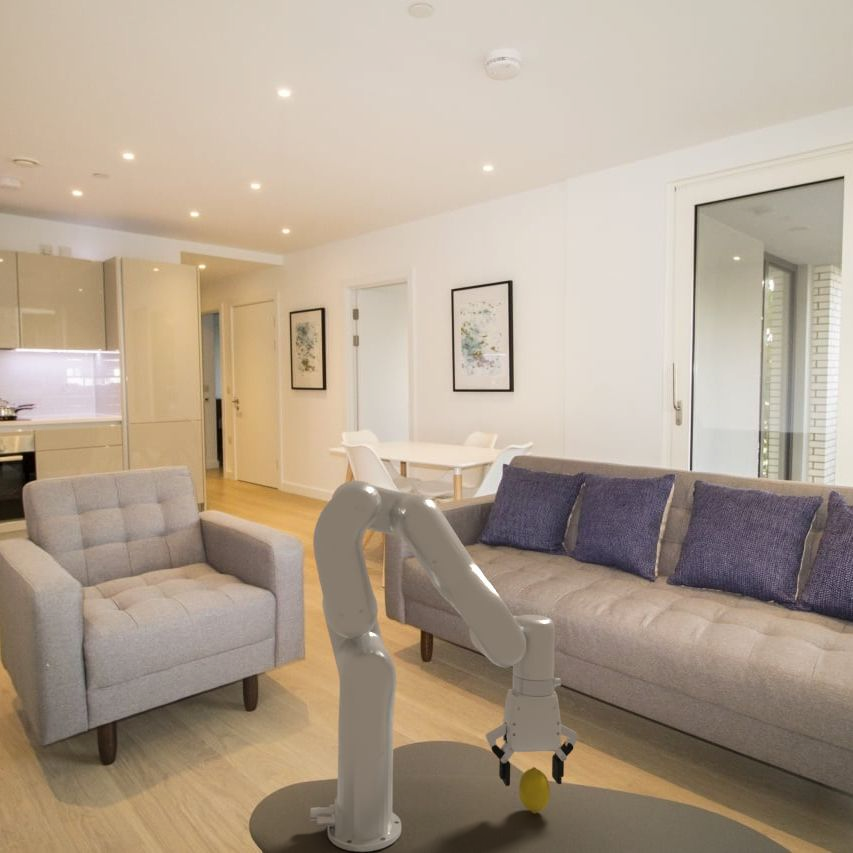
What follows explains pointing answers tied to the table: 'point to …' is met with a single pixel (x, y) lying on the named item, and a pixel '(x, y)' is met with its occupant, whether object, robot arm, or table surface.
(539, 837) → the table surface
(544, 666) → the robot arm
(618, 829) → the table surface
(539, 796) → the lemon
